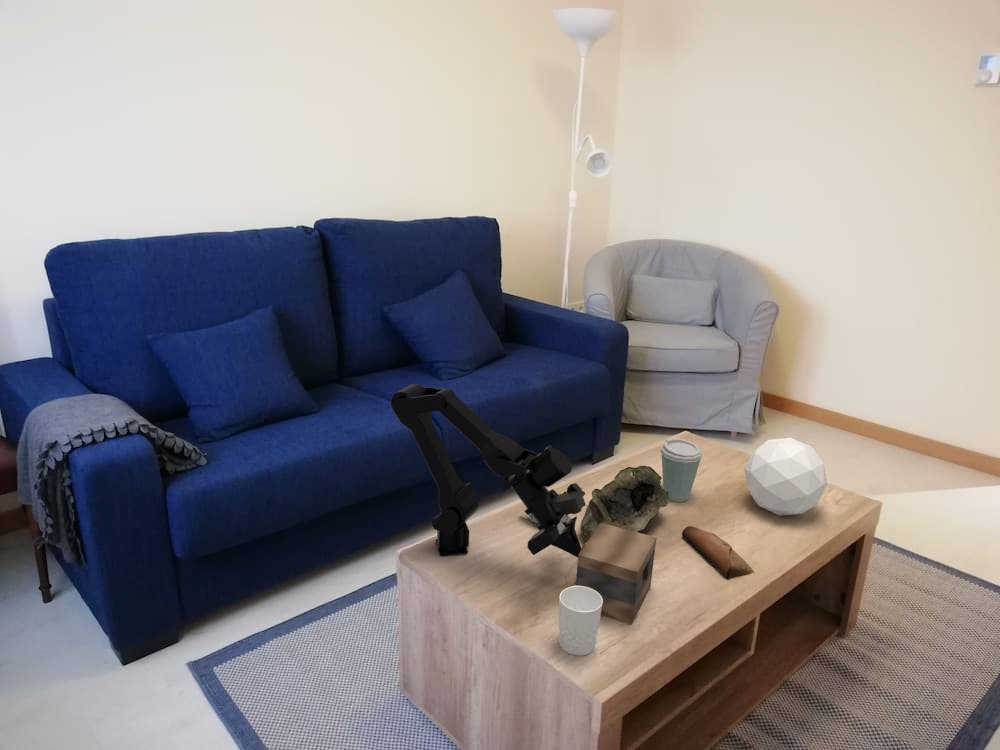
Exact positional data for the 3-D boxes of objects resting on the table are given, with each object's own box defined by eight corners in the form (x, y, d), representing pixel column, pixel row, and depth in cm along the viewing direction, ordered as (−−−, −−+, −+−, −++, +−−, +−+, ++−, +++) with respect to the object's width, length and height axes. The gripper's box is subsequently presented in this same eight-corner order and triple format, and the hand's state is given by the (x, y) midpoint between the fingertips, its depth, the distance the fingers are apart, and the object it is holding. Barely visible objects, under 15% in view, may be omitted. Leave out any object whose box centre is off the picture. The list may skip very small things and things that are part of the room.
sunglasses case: (758, 573, 161) (749, 553, 158) (733, 592, 160) (723, 571, 157) (710, 532, 177) (701, 512, 174) (687, 548, 176) (677, 529, 173)
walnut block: (573, 606, 147) (578, 554, 143) (596, 571, 159) (600, 522, 155) (632, 625, 142) (638, 571, 139) (650, 587, 154) (656, 537, 151)
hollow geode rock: (650, 523, 189) (622, 471, 193) (686, 506, 180) (655, 451, 184) (581, 561, 170) (551, 502, 173) (618, 543, 161) (586, 482, 165)
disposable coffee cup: (701, 495, 195) (709, 443, 190) (688, 511, 186) (695, 457, 181) (663, 483, 200) (670, 433, 195) (649, 499, 191) (655, 446, 187)
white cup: (587, 664, 132) (591, 617, 128) (548, 647, 135) (551, 601, 132) (605, 640, 138) (609, 595, 135) (567, 624, 142) (571, 580, 139)
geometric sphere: (785, 543, 186) (797, 509, 170) (725, 490, 197) (731, 454, 181) (835, 497, 191) (852, 461, 175) (774, 448, 202) (784, 409, 186)
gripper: (545, 497, 140) (595, 562, 139) (578, 460, 156) (623, 519, 155) (506, 522, 146) (554, 586, 145) (542, 484, 162) (585, 541, 161)
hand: (581, 556), depth 151 cm, fingers closed, pressing on capped peg
